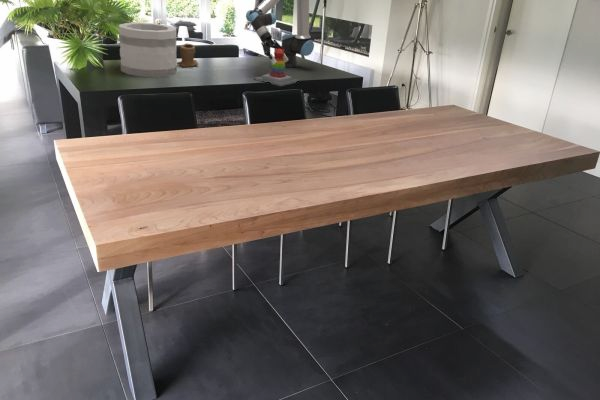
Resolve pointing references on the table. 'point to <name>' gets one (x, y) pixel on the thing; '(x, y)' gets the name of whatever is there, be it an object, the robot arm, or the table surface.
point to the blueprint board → (277, 80)
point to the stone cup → (187, 55)
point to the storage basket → (148, 49)
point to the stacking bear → (278, 64)
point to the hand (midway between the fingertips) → (281, 62)
